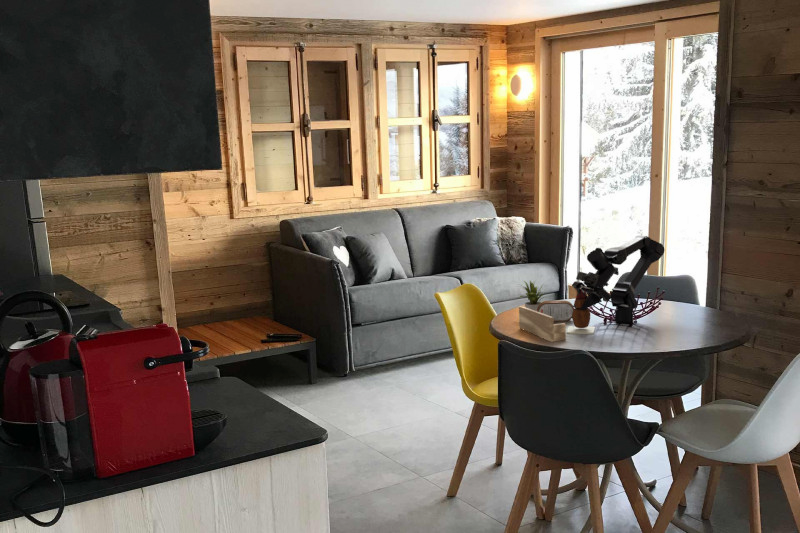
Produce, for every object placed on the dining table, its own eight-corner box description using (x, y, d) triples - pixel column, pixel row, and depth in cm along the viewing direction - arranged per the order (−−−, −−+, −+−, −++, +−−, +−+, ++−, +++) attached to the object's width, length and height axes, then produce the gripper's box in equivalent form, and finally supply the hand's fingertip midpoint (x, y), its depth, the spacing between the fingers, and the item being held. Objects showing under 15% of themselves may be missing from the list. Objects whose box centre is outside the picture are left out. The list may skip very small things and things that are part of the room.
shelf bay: (533, 326, 312) (532, 304, 311) (565, 339, 290) (565, 315, 289) (519, 328, 310) (518, 306, 309) (551, 341, 288) (550, 317, 287)
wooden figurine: (591, 325, 304) (590, 287, 301) (589, 329, 298) (588, 290, 296) (573, 325, 306) (572, 287, 304) (571, 328, 300) (570, 290, 298)
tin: (574, 320, 321) (574, 299, 320) (575, 321, 318) (574, 301, 317) (537, 320, 323) (536, 300, 321) (537, 322, 320) (537, 302, 318)
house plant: (507, 317, 332) (506, 279, 330) (532, 312, 339) (532, 275, 336) (528, 322, 320) (527, 283, 317) (554, 317, 326) (554, 279, 324)
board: (595, 328, 305) (595, 326, 305) (593, 334, 296) (593, 332, 296) (568, 327, 308) (568, 326, 308) (566, 333, 299) (566, 332, 299)
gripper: (575, 260, 308) (551, 291, 306) (603, 266, 291) (578, 299, 289) (593, 278, 312) (569, 309, 310) (621, 285, 295) (596, 317, 293)
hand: (577, 308), depth 300 cm, fingers closed on wooden figurine, 5 cm apart
